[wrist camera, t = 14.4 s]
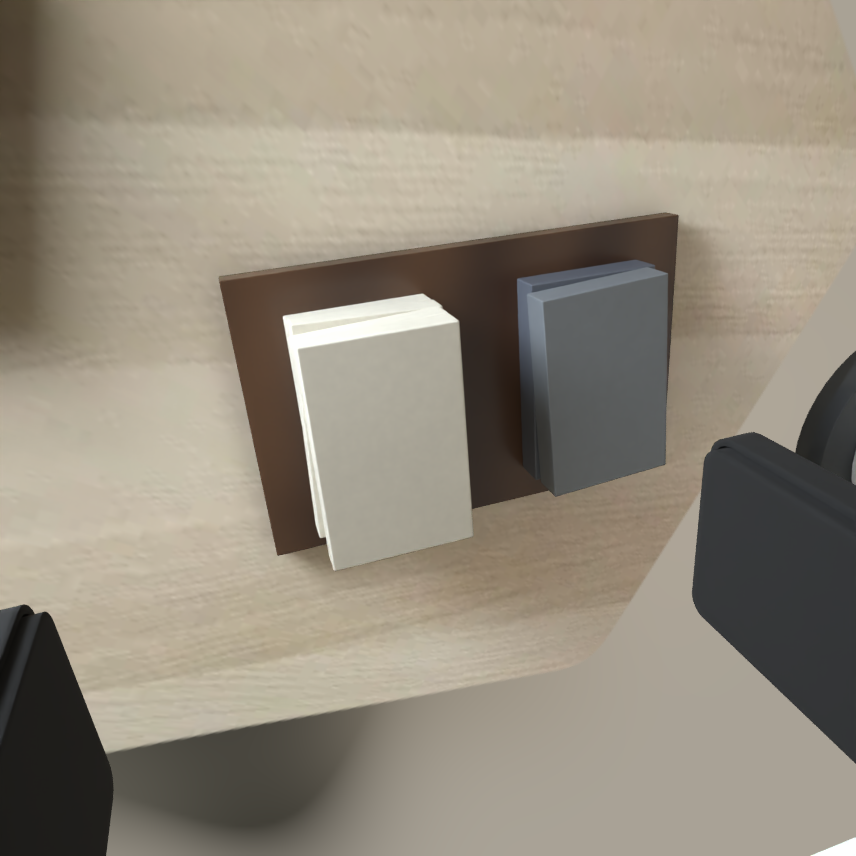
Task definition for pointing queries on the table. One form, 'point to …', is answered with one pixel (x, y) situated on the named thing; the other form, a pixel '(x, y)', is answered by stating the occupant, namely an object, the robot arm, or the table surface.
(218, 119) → the table surface
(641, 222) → the shelf board
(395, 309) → the white stack
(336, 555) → the white book
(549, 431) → the grey stack
